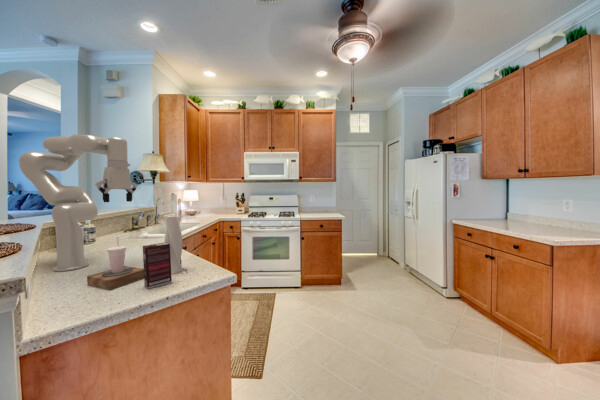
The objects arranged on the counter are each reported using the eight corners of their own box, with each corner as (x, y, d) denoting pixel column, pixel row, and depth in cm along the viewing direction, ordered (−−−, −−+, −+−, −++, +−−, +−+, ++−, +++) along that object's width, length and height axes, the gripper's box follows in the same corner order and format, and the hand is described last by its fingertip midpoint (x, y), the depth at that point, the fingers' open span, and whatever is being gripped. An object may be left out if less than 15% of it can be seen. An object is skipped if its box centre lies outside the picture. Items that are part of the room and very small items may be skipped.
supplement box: (168, 280, 98) (166, 241, 98) (172, 283, 95) (170, 243, 94) (143, 286, 92) (142, 245, 92) (146, 289, 89) (145, 247, 88)
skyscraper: (188, 271, 109) (186, 210, 108) (169, 276, 103) (167, 211, 102) (180, 268, 115) (178, 209, 114) (162, 272, 109) (160, 211, 108)
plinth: (87, 285, 94) (87, 275, 94) (124, 273, 107) (124, 264, 107) (110, 290, 89) (109, 279, 88) (146, 277, 102) (146, 268, 101)
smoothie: (131, 269, 101) (129, 235, 100) (118, 274, 94) (116, 238, 94) (117, 268, 101) (115, 235, 101) (103, 273, 95) (101, 238, 94)
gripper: (131, 167, 120) (132, 200, 121) (90, 163, 105) (91, 202, 105) (141, 166, 117) (142, 201, 118) (100, 162, 102) (101, 202, 102)
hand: (118, 201), depth 112 cm, fingers open, 9 cm apart
